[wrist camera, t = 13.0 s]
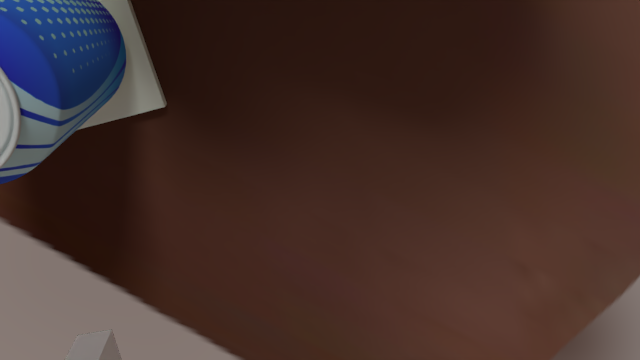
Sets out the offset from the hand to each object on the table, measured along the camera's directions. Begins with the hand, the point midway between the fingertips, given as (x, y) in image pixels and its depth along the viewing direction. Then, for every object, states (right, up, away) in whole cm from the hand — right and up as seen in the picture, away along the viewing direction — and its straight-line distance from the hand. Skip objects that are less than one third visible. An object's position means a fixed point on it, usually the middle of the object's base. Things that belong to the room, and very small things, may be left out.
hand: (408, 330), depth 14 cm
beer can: (-19, +12, +26) cm, 34 cm away
